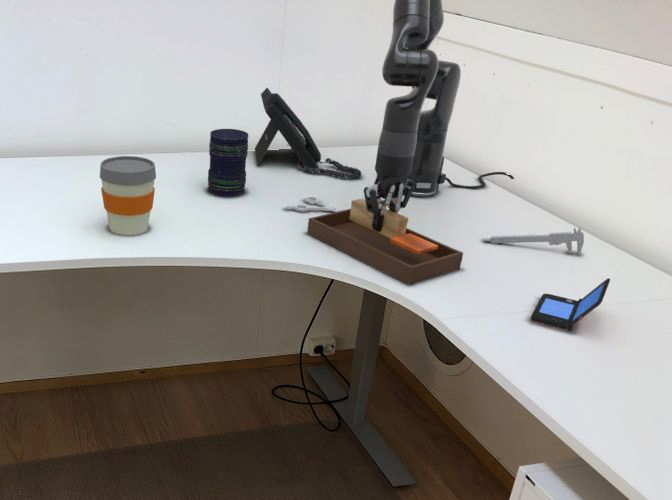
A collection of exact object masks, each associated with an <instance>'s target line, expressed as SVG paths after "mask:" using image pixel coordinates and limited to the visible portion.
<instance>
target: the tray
mask: <svg viewBox="0 0 672 500" xmlns="http://www.w3.org/2000/svg"><path fill="white" fill-rule="evenodd" d="M342 210H343V211H338V212H330V213H326V214H321V215H317V216H313V217H309V218H308V222H307V233H306V234H307V235H309V236H311V237H313V238H315V239H316V240H319V241H321V242H322V243H324V244H327V245H328V246H331V247H332V248H335V249H337V250H339V251H340V252H343V253H344V254H347V255H349V256H351V257H353V258H354V259H356V260H358V261H360V262H363V263H364V264H366V265H368V266H370V267H372V268H374V269H376V270H378V271H380V272H382V273H384V274H386V275H389V277H392V278H394V279H396V280H398V281H400V282H402V283H403V284H405V285H408V286H411V285H414V284H417V283H419V282H423V281H427V280H429V279H433V278H436V277H440V276H442V275H446V274H449V273H452V272H455V271H459V270H460V269H461V265H462V261H463V258H464V257H463V256H464V252H462V251H461V250H458V249H456V248H454V247H451V246H449V245H446V244H444V243H442V242H440V241H437V240H435V239H433V238H431V237H428V236H426V235H424V234H422V233H419V232H417V231H415V230H412V229H410V228H408V227H406V233H405V234H409V233H411V234H413V235H415V236H418V237H420V238H422V239H424V240H427V241H429V242H431V243H433V244H436V245H438V249H436V250H433V251H429V252H425V253H422V254H416V253H413V252H411V251H409V250H407V249H405V248H403V247H401V246H398V245H396V244H394V243H392V242H390V238H388V237H386V236H384V235H382V234H380V233H378V232H375V231H373V230H371V229H369V228H367V227H365V226H362V225H360V224H358V223H356V222H354V221H351V220H349V218H350V211H351V208H348V209H342Z"/></svg>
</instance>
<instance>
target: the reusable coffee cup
mask: <svg viewBox="0 0 672 500" xmlns="http://www.w3.org/2000/svg"><path fill="white" fill-rule="evenodd" d="M156 173H157V172H156V164H155V161H153V160H151V159H149V158H146V157H142V156H135V155H134V156H133V155H120V156H113V157H109V158H105V159H104V160H102V161H101V162H100V167H99V178H100V179H101V185H102V186H101V187H100V189H101V197H102V203H103V208H104V210H105V211H106V218H107V223H108V229H109V231H110V232H112V233H114V234H116V235H121V236H137V235H141V234H144V233H146V232H147V231H148V230H149V222H150V216H151V211H152V210H153V207H154V200H155V199H154V198H155V192H156V188H155V186H154V185H155V180H156V178H157V174H156Z"/></svg>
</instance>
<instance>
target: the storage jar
mask: <svg viewBox="0 0 672 500" xmlns="http://www.w3.org/2000/svg"><path fill="white" fill-rule="evenodd" d="M209 137H210V138H209V142H208V143H209V145H208V147H209V150H208V156H209V169H208V171H207V185H208V187H207V193H209V194H210V195H212V196H215V197H219V198H238V197H241V196H243V195H244V194H245V193H246V192H245V187H246V184H247V183H246V182H247V171H246V166H247V165H246V163H247V157H248V154H249V153H248V150H249V133H248V132H247V131H244V130H241V129H235V128H218V129H214V130H212V131H210V133H209Z"/></svg>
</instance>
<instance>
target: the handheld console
mask: <svg viewBox="0 0 672 500" xmlns="http://www.w3.org/2000/svg"><path fill="white" fill-rule="evenodd" d="M610 282H611V278H610V277H609V278H606V279H605V280H603V281H602V282H601V283H600V284H598V286H596V287H594V289H592V290H591V291H590V292H589V293H588V294H586V295H585V296H584V297H582V298H579V299H578V300H576V299H571V298H568V297H564V296H559V295H556V294H555V295H554V294H550V293H543V294H542V295H541V297H540V299H539V301H538V302H537V304H536V306H535V308H534V309H533V312H532V314H531V316H530V320H531V321H532V322H534V323H537V324H540V325H541V324H542V325H545V326H548V327H553V328H556V329H561V330H565V331H567V332H572V331H573V327H574V326H575V325H576V324H577V323H579V322H580V321H581V320H582V319H583V318H585V317H586V316H587V315H588V314H589V315H590V313H591V312H593V311H594V310H595V309H597V308H598V307H599V306H600V305H601V304H602V302H603V301H604V297H605V295H606V292H607V290H608V287H609V285H610Z"/></svg>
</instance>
